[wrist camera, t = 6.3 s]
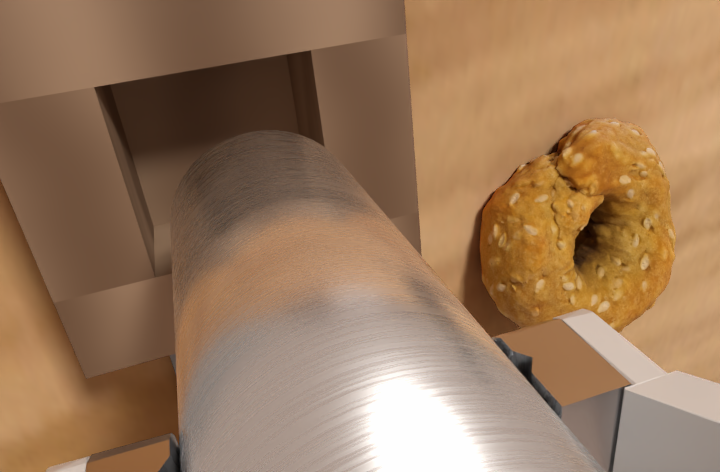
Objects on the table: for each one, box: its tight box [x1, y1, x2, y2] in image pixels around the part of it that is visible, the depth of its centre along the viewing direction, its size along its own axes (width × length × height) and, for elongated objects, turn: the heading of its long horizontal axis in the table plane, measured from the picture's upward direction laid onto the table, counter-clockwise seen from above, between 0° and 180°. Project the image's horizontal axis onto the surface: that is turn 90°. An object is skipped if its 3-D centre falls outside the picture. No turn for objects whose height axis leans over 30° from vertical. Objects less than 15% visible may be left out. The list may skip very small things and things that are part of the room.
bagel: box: [480, 118, 676, 333], centre depth 27 cm, size 10×11×5 cm
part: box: [170, 130, 606, 472], centre depth 10 cm, size 4×4×10 cm
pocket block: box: [0, 0, 422, 379], centre depth 20 cm, size 12×12×5 cm
